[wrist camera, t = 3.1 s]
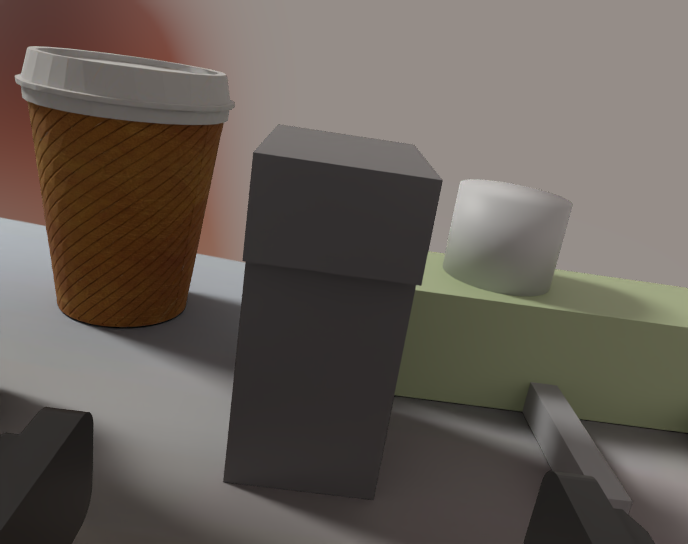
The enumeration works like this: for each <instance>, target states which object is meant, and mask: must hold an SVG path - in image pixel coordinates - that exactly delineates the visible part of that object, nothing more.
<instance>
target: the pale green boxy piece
mask: <svg viewBox="0 0 688 544" xmlns="http://www.w3.org/2000/svg"><path fill="white" fill-rule="evenodd" d="M572 205H573V204H572V202H570V201H569V200H567V199H565V198H563V197H561V196H558V195H555V194H552V193H549V192H546V191H542V190H539V189H535V188H530V187H526V186H522V185H516V184H511V183H505V182H499V181H490V180H476V179H473V180H463V181H461V182H460V186H459V190H458V195H457V200H456V204H455V209H454V214H453V218H452V224H451V228H450V233H449V237H448V242H447V247H446V252H445V254H444V253H437V252H429V251H428V255H427V260H426V265H425V270H424V275H423V280H422V285H421V286H419V285H416V289H415V294H414V299H413V304H412V309H411V314H410V319H409V324H408V329H407V334H406V339H405V344H404V349H403V354H402V359H401V364H400V369H399V374H398V379H397V384H396V389H395V394H394V395H397V396H405V397H413V398H421V399H428V400H436V401H444V402H452V403H459V404H467V405H475V406H483V407H490V408H498V409H506V410H514V411H521V412H523V414H524V416H525V418H526V420H527V422H528V424H529V426H530V428H531V430H532V432H533V434H534V436H535V438H536V440H537V442H538V444H539V446H540V448H541V450H542V452H543V454H544V455H545V457H546V459H547V461H548V463H549V465H550V467H551V469H552V471H555V472H563V473H571V474H579V475H587V476H592V477H594V478H595V479H596V480H597V482H598V483H599V485H600V487H601V488H602V490H603V492H604V493H605V495H606V497H607V498H608V500H609V502H610V503H611V505H612V507H613V508H615V509H623V510H624V511H625V512H626V513H627V514H629V511H630V508H631V505H632V503H633V501H632V500H631V498H630V497H629V495H628V493H627V492H626V490H625V489H624V487H623V486H622V484H621V483H620V481H619V480H618V478H617V477H616V475H615V473H614V472H613V470H612V469H611V467H610V466H609V464H608V463H607V461H606V460H605V458H604V457H603V455H602V454H601V452H600V450H599V449H598V447H597V446H596V444H595V443H594V441H593V440H592V438H591V437H590V435H589V434H588V432H587V431H586V429H585V427H584V426H583V424H582V423H581V421H580V420H579V419H584V420H591V421H599V422H607V423H615V424H622V425H630V426H638V427H646V428H653V429H661V430H669V431H677V432H684V433H688V288H684V287H677V286H670V285H663V284H656V283H649V282H641V281H634V280H627V279H620V278H613V277H606V276H599V275H592V274H585V273H578V272H570V271H563V270H557V269H555V267H556V264H557V260H558V256H559V253H560V249H561V245H562V242H563V238H564V234H565V231H566V227H567V224H568V220H569V217H570V213H571V209H572Z"/></svg>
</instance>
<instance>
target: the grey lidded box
mask: <svg viewBox="0 0 688 544" xmlns="http://www.w3.org/2000/svg"><path fill="white" fill-rule="evenodd" d="M441 186H442V179H441V178H440V176H439V175H438V174H437V173H436V171H435V170H434V169H433V168H432V166H431V165H430V164H429V163H428V161H427V160H426V159H425V158H424V157H423V155H422V154H421V153H420V151H419V150H418V149H417V148H416V146H415V145H412V144H406V143H399V142H392V141H386V140H379V139H373V138H366V137H359V136H352V135H346V134H339V133H333V132H326V131H319V130H312V129H306V128H298V127H293V126H286V125H280V124H279V125H277V127H276V128H275V129H274V130H273V131H272V132H271V133H270V134H269V136H268V137H267V138H266V139H265V140H264V141H263V142H262V143H261V144H260V145H259V147H258V148H257V149H256V150H255V151H254V152H253V161H252V172H251V181H250V191H249V201H248V211H247V221H246V231H245V242H244V252H243V261H246V264H245V274H244V284H243V294H242V304H241V313H240V323H239V333H238V343H237V353H236V363H235V372H234V382H233V392H232V402H231V412H230V422H229V431H228V441H227V451H226V461H225V471H224V481H223V482H228V483H236V484H244V485H253V486H261V487H269V488H278V489H286V490H294V491H303V492H311V493H319V494H328V495H336V496H345V497H353V498H361V499H370V500H373V499H374V494H375V489H376V484H377V479H378V474H379V469H380V464H381V459H382V454H383V449H384V444H385V439H386V434H387V429H388V424H389V419H390V414H391V409H392V404H393V399H394V394H395V389H396V384H397V379H398V374H399V369H400V364H401V359H402V354H403V349H404V344H405V339H406V334H407V329H408V324H409V319H410V314H411V309H412V304H413V299H414V294H415V289H416V285H419V286H421V285H422V280H423V275H424V270H425V265H426V260H427V255H428V250H429V245H430V240H431V235H432V230H433V225H434V220H435V216H436V211H437V206H438V201H439V196H440V191H441Z"/></svg>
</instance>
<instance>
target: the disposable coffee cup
mask: <svg viewBox="0 0 688 544" xmlns="http://www.w3.org/2000/svg"><path fill="white" fill-rule="evenodd" d="M15 81H16V82H17V84H19V85H21V88H22V97H23V98H24V99H25V100H26V101H28V108H29V114H30V120H31V127H32V133H33V140H34V146H35V154H36V164H37V168H38V174H39V180H40V187H41V194H42V202H43V208H44V217H45V222H46V230H47V235H48V243H49V248H50V256H51V261H52V269H53V274H54V282H55V289H56V296H57V304H58V306H59V309H60V310H61V311H62V312H63V313H65V314H66V315H68V316H69V317H71V318H74V319H76V320H79V321H82V322H86V323H89V324H95V325H101V326H110V327H136V326H145V325H152V324H157V323H160V322H164V321H167V320H170V319H172V318H174V317H176V316H177V315H179V314H180V313H181V312H182V311H183V310H184V309H185V307H186V301H187V296H188V291H189V287H190V282H191V277H192V273H193V268H194V263H195V258H196V253H197V248H198V243H199V239H200V234H201V228H202V224H203V218H204V213H205V209H206V204H207V199H208V194H209V189H210V185H211V180H212V175H213V170H214V165H215V160H216V156H217V151H218V145H219V140H220V136H221V132H222V128H223V123H224V122H226V121H228V115H229V110H232V109H233V108H234V107H235V102H233V101H231V100H230V96H229V88H228V79H227V75H226V74H225V73H222V72H218V71H214V70H210V69H205V68H200V67H195V66H189V65H184V64H178V63H172V62H164V61H159V60H153V59H146V58H139V57H132V56H125V55H118V54H110V53H102V52H93V51H85V50H76V49H67V48H54V47H38V46H36V47H28V48H27V51H26V56H25V60H24V65H23V68H22V73H21V74H20V75H16V76H15Z"/></svg>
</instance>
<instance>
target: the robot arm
mask: <svg viewBox="0 0 688 544" xmlns="http://www.w3.org/2000/svg"><path fill="white" fill-rule="evenodd" d="M92 471H93V417H92V415H91V413H90V412H83V411H74V410H66V409H58V408H50V407H44V408H43V409H41V410H40V411H39V412H38V414H37V415H36V416H35V417H34V418H33V419H32V421H31V422H30V423H29V424H28V425H27V426H26V428H25V429H24V430H23V431H22V432H21V434H11V433H3V434H2V435H0V544H72V542H73V540H74V538H75V537H76V535H77V533H78V531H79V529H80V527H81V526H82V524H83V521H84V519H85V516H86V514H87V510H88V507H89V503H90V499H91V493H92ZM524 544H655V543H654V541H653V540H652V538H651V537H650V535H649V533H648V532H647V531H646V530H645V529H644V528H642V527H641V526H640V525H639V524H638V523H637V522H636V521H635V520H634V519H633V518H631V517H630V516H629V515H628V514H627V513H626V512H625V511H624V510H623V509H615V508H613V507H612V505H611V503H610V502H609V500H608V498H607V497H606V495H605V493H604V492H603V490H602V488H601V487H600V485H599V483H598V482H597V480H596V479H595V478H594V477H592V476H587V475H579V474H571V473H563V472H555V471H549V472H547V473H546V475H545V476H544V478H543V480H542V483H541V487H540V490H539V493H538V497H537V500H536V503H535V506H534V510H533V513H532V516H531V520H530V523H529V526H528V530H527V533H526V536H525V540H524Z"/></svg>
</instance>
